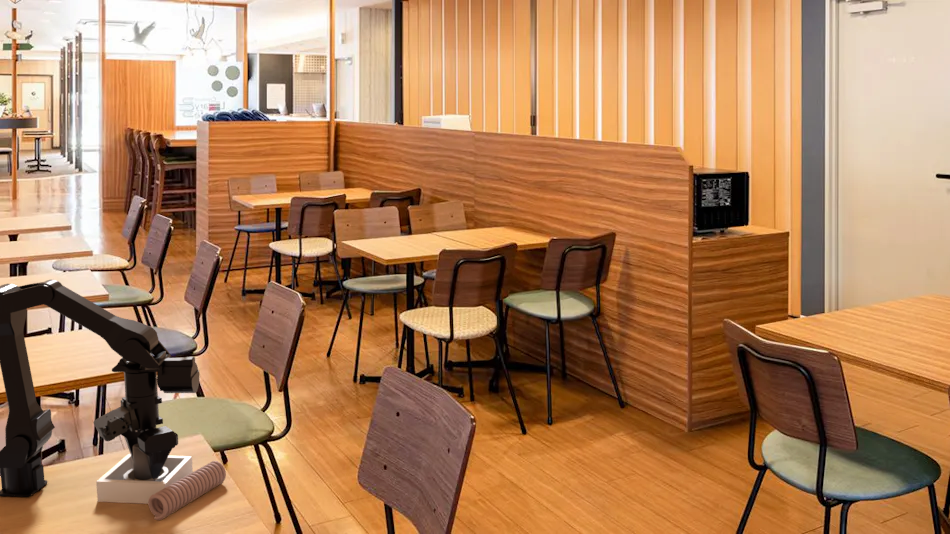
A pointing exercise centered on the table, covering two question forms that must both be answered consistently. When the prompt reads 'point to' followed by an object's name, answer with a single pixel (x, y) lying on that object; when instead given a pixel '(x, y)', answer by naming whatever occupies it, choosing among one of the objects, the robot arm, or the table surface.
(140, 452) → the plug
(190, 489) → the coil
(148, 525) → the table surface
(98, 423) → the robot arm
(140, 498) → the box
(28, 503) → the table surface
